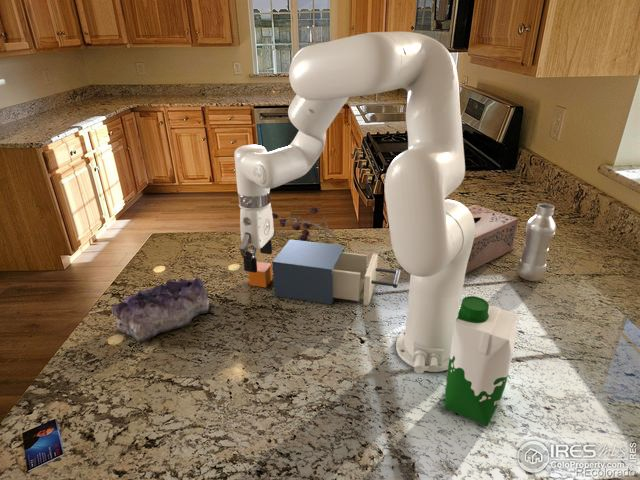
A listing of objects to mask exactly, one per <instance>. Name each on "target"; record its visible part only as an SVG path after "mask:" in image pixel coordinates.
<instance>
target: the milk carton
mask: <svg viewBox="0 0 640 480" xmlns="http://www.w3.org/2000/svg"><path fill="white" fill-rule="evenodd" d="M518 319H519V314H518V313H516V312H512V311H508V310H506V309H502V308H501V307H498V306H493V305H490V304H489V302H488V301H487V300H486V299H484V298H482V297H479V296H475V295H474V296H473V295H472V296H471V295H469V296H465V297H463V298H462V299H461V303H460V308H459V313H458V317H457V319H456V322H455V326H454V334H453V340H452V346H451V352H450V359H449V365H448V370H447V371H446V372H447V373H446V381H445V382H446V383H445V393H444V395H445V396H444V409H445V410H448V411H451V412H452V413H454V414H457V415H459V416H461V417H462V416H463V417H465V418H467V419H469V420H471V421H473V422H476V423H479V424H481V425H484V426H486V427H488V426H489V424H490V423H491V420H492V418H493V415H494V414H495V412H496V409H497V408H498V406H499V404H500V401H501V400H502V397H503V394H504V391H505V389H506V385H507V381H508V377H509V372H510V368H511V364H512V360H513V356H514V350H515V345H516V338H517V327H518Z"/></svg>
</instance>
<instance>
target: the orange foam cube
mask: <svg viewBox="0 0 640 480" xmlns="http://www.w3.org/2000/svg"><path fill="white" fill-rule="evenodd" d="M248 279H249V286H253V287H260V288H267V287H268V286H269V284H270V283H271V282H272V281H273V265H272V263H268V262H260V261H257V272H256V273H254V272H248Z"/></svg>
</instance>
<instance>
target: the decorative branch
mask: <svg viewBox="0 0 640 480" xmlns="http://www.w3.org/2000/svg"><path fill="white" fill-rule="evenodd" d="M309 212H310V213H311V214H313V215H314V214H317V213H318V212H320V213H322V216H323V219H322V222H320V223H314V222H311V220H309V221H304V220H306V219H307V217H304V218H302V219H301V221H300V218H301V216H298V217H289V216H286V218H284V217H283V218H281V217H280V216H279V214H278V213H276V212H272V216H273V219H275V220H277V219H278V221H279V223H278V225H279V226H280V227H281V228H284V227H285V226H286V225H287V224H288V223H289V222H290V221H292V220H293V221H292V223H293V224H292V226H291V227H292V229H293V230H294V231H299V230H301V228H302V227H303V229H302V230H301V234H300V235H299V240H300V241H308V239H313V238H316V237H318V236H319V235H325V238H326V240H327V243H329V242H330V240H329V237H328V234H327V233H329V234H330V235H331V236H332V237H334V238H335V239H338V236H337V235H336V234H335V233H334V232H333V231H332V230H331V229H330V228H328V226H329V225H328V224H329V223H328V222H327V221H326V220H325V219H326V216H325V214H324V212H322V211H321V210H320V209H319V208H318V207H317V206H311V208H309ZM323 223H324V224H325V227H321V226H320V225H322V224H323ZM313 226H314V228H313ZM311 228H312V229H311ZM310 229H311V230H310ZM315 229H318V230H319V232H317V234H316V235H313V236H310V234H311V233H312V232H313V231H314V230H315Z"/></svg>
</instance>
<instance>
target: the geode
mask: <svg viewBox="0 0 640 480" xmlns="http://www.w3.org/2000/svg"><path fill="white" fill-rule="evenodd" d="M209 294H210V292H208V291H207V289H206V287H205V284H204V282H203V281H202V279H201V278H200V277H195V278H194V279H193V280H189V279H185V278H180V279H179V280H178V281H177V280H175V281H173V280H171V279H167V280H166V282H165V284H163V283H161V284H159V285H156V286H154V287H151V288H148V289H145V290H142V289H139V290H138V292H136V293H134V294H133V295H131V294H129V295H128V296H126V297H125V298H124V300H123V301H122V302H119V303H117V304H116V303H115V304H114V305H112V306H111V313H112V315H113V316H115V317H116V319H115V320H116V321H115V323H116V329H117V331H119V332H121V333H123V334H126V335H128V336H130V337H132V338H133V339H134V340H135V341H136V342H138V343H143V342H146V341H149V340H151V339H152V338H153V337H155V336H157V335H159V334H161V333H166V332H167V333H168V332H170V331H174V330H175V329H181V328H184V327H187V326H188V325H190V324H191V323H192V320H193V319H194V318H196V317H198V316H199V315H203V314H204V315H205V314H208V313H209V310H210V308H211V305H210V302H209Z"/></svg>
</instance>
